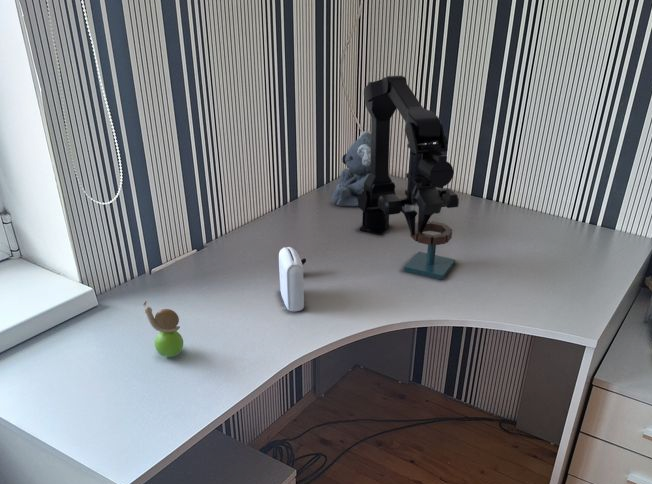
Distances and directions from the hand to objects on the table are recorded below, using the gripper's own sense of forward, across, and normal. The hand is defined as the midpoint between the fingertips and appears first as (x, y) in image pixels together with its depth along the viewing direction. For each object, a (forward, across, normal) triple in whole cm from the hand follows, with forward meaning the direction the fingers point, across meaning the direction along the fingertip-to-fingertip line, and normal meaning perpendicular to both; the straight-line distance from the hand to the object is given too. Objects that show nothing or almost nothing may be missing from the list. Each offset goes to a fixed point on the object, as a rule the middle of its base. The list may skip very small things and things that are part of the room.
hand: (416, 234), depth 167 cm
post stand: (+10, +4, 0) cm, 11 cm away
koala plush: (+10, +4, +48) cm, 49 cm away
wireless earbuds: (+10, -29, +5) cm, 31 cm away
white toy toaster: (+10, -33, -7) cm, 35 cm away
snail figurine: (+10, -62, -20) cm, 66 cm away
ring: (+1, +4, 0) cm, 4 cm away
